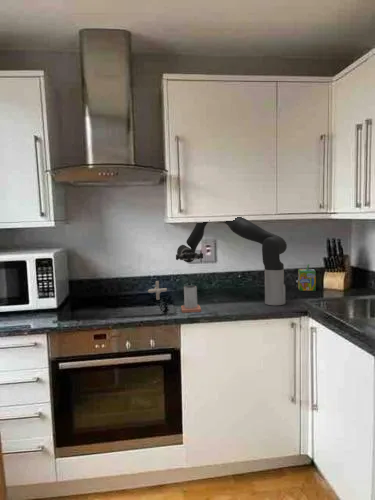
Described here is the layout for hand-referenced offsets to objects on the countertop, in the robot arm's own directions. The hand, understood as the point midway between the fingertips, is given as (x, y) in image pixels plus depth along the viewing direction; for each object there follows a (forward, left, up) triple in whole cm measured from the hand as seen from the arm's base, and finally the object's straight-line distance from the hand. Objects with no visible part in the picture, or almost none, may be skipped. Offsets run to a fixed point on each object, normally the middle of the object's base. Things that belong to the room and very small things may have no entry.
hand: (190, 257), depth 190 cm
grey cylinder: (+2, +13, -22) cm, 26 cm away
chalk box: (-68, -20, -24) cm, 75 cm away
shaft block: (+2, +13, -24) cm, 27 cm away
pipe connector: (+18, -13, -24) cm, 32 cm away
